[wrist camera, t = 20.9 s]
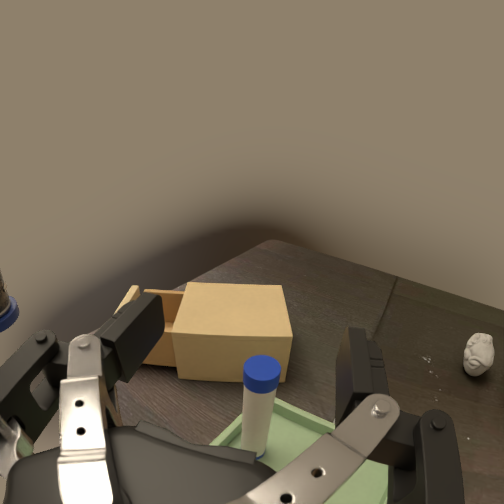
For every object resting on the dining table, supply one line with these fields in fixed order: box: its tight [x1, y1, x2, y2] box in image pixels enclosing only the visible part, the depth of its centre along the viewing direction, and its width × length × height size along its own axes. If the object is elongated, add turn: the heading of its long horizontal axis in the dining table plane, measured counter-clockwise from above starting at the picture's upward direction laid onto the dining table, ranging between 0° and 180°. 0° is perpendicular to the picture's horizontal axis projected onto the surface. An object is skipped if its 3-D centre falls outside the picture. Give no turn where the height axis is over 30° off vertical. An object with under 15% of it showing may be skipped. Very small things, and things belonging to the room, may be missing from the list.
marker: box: [241, 355, 281, 460], centre depth 23 cm, size 3×3×14 cm
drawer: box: [115, 286, 184, 367], centre depth 40 cm, size 15×11×7 cm
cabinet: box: [171, 282, 293, 382], centre depth 40 cm, size 14×12×8 cm
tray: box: [209, 397, 388, 504], centre depth 23 cm, size 20×13×2 cm, turn 55°
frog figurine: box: [463, 333, 494, 376], centre depth 33 cm, size 6×7×7 cm
